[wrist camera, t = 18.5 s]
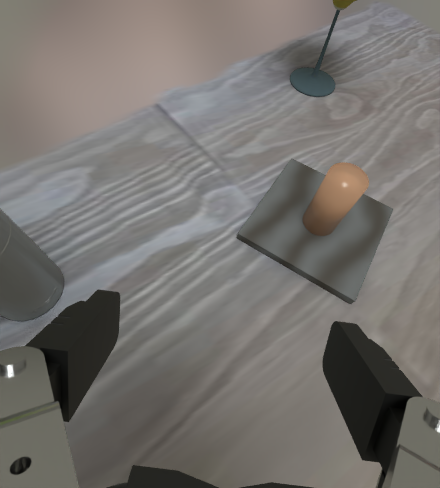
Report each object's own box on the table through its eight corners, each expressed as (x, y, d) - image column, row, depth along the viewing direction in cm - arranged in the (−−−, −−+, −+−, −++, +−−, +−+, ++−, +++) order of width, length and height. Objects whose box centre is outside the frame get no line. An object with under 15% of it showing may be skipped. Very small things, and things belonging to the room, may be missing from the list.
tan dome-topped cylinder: (296, 223, 49) (320, 180, 39) (312, 202, 51) (338, 156, 41) (326, 242, 48) (358, 201, 38) (340, 219, 50) (375, 175, 40)
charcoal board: (236, 238, 49) (237, 233, 47) (289, 164, 57) (291, 158, 56) (350, 304, 45) (355, 301, 43) (388, 213, 53) (393, 208, 52)
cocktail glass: (336, 60, 76) (394, -80, 54) (360, 107, 67) (440, -37, 45) (268, 59, 74) (299, -87, 52) (283, 107, 65) (328, -43, 43)
